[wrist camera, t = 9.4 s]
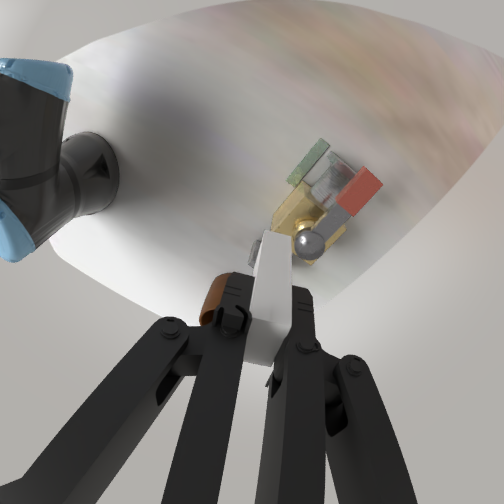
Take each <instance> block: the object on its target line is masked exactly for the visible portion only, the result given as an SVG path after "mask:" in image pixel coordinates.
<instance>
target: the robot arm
mask: <svg viewBox="0 0 504 504" xmlns="http://www.w3.org/2000/svg"><path fill="white" fill-rule="evenodd" d="M72 81H73V70H72V68H71V67H70V66H69V65H67V64H63V63H57V62H49V61H41V60H31V59H13V58H0V257H1V258H3V259H4V260H6V261H9V262H13V263H15V262H18V261H20V260H22V259H23V258H24V257H26V256H27V255H28V254H29V253H32V252H34V251H35V250H36V249H37V248H38V247H39V246H40V245H41V244H43V242H45V241H46V240H47V239H48V238H50V237H51V236H52V235H53V234H54V233H56V232H57V231H58V230H59V229H60V228H62V227H63V226H64V225H65V224H67V223H68V222H69V221H71V220H72V219H73V218H77V217H80V216H84V215H92V214H95V213H98V212H99V211H101V210H102V209H104V208H105V207H106V206H108V205H109V204H110V203H111V202H112V200H113V199H114V197H115V195H116V192H117V189H118V184H119V169H118V164H117V160H116V157H115V155H114V153H113V151H112V149H111V147H110V146H109V145H108V143H107V142H106V141H105V140H104V139H103V138H101V137H100V136H98V135H97V134H94V133H91V132H82V133H78V134H75V135H72V136H70V137H68V138H67V139H65V140H64V141H63V142H62V137H63V130H64V124H65V119H66V113H67V108H68V104H69V102H70V91H71V86H72ZM313 312H314V309H313V297H312V295H311V294H310V292H309V290H308V289H306V288H302V287H298V286H293V285H292V248H291V236H288V235H284V234H280V233H276V232H272V231H268V230H264V234H263V237H262V241H261V245H260V248H259V252H258V256H257V259H256V263H255V266H254V270H253V276H249V275H245V274H241V273H237V272H233V273H232V274H231V275H230V276H229V277H228V278H227V281H226V285H225V288H224V291H223V294H222V297H221V301H220V304H219V305H217V307H216V308H215V310H214V314H213V320H212V322H210V323H209V324H207V325H204V326H187V325H186V323H185V322H184V321H182V320H181V319H179V318H176V317H164V318H161V319H159V320H157V321H156V322H155V323H154V324H153V325H152V326H151V327H150V328H149V329H148V330H147V332H146V333H145V334H144V335H143V336H142V337H141V338H140V339H139V340H138V342H137V343H136V344H135V345H134V346H133V347H132V348H131V349H130V350H129V352H128V353H127V354H126V355H125V356H124V357H123V358H122V360H120V362H119V363H118V364H117V365H116V366H115V367H114V368H113V370H112V371H111V372H110V373H109V374H108V375H107V376H106V378H105V379H104V380H103V381H102V382H101V383H100V384H99V385H98V387H97V388H96V389H95V390H94V391H93V392H92V394H91V395H90V396H89V397H88V398H87V399H86V400H85V402H84V403H83V404H82V405H81V406H80V408H79V409H78V410H77V411H76V412H75V413H74V415H73V416H72V417H71V418H70V419H69V421H68V422H67V423H66V424H65V425H64V427H63V428H62V429H61V430H60V431H59V432H58V434H57V435H56V436H55V437H54V439H53V440H52V441H51V442H50V443H49V445H48V446H47V447H46V448H45V449H44V451H43V452H42V453H41V454H40V456H39V457H38V458H37V459H36V461H35V462H34V463H33V464H32V466H31V467H30V468H29V470H28V471H27V472H26V473H25V474H24V476H23V477H22V478H20V479H18V480H15V481H13V482H10V483H8V484H5V485H3V486H0V504H95V503H96V502H97V500H98V499H99V498H100V497H101V495H102V494H103V492H104V491H105V489H106V488H107V487H108V486H109V484H110V483H111V481H112V480H113V479H114V477H115V476H116V474H117V473H118V472H119V470H120V469H121V467H122V466H123V465H124V463H125V462H126V460H127V459H128V457H129V456H130V455H131V453H132V452H133V450H134V449H135V448H136V446H137V445H138V443H139V442H140V440H141V439H142V438H143V436H144V434H145V433H146V432H147V430H148V429H149V428H150V426H151V425H152V423H153V422H154V420H155V419H156V417H157V416H158V414H159V413H160V412H161V410H162V409H163V407H164V406H165V404H166V403H167V402H168V400H169V399H170V397H171V396H172V394H173V393H174V391H175V390H176V388H177V387H178V385H179V384H180V383H181V381H182V380H183V378H184V377H185V376H196V379H195V383H194V387H193V390H192V393H191V397H190V400H189V403H188V407H187V411H186V414H185V417H184V421H183V425H182V429H181V432H180V435H179V439H178V442H177V446H176V450H175V453H174V457H173V461H172V464H171V468H170V472H169V475H168V479H167V483H166V487H165V490H164V494H163V499H162V502H161V504H217V502H218V496H219V491H220V486H221V481H222V475H223V470H224V465H225V459H226V453H227V448H228V443H229V437H230V431H231V426H232V420H233V414H234V409H235V404H236V398H237V392H238V386H239V380H240V375H241V370H242V364H243V361H244V362H249V363H253V364H258V365H263V366H268V367H271V366H272V364H273V362H274V370H273V372H272V374H271V375H270V377H269V379H268V381H267V383H266V386H265V387H268V386H269V391H268V401H267V410H266V420H265V429H264V437H263V445H262V453H261V461H260V469H259V477H258V484H257V491H256V498H255V504H324V495H325V460H326V459H325V458H326V455H325V454H327V457H328V462H329V465H330V469H331V473H332V477H333V482H334V486H335V490H336V494H337V498H338V502H339V504H418V503H417V500H416V496H415V493H414V490H413V486H412V483H411V480H410V476H409V473H408V470H407V467H406V464H405V461H404V458H403V455H402V452H401V449H400V447H399V444H398V441H397V438H396V436H395V433H394V430H393V428H392V425H391V422H390V419H389V417H388V414H387V411H386V409H385V406H384V404H383V401H382V399H381V396H380V394H379V391H378V389H377V386H376V384H375V381H374V379H373V377H372V374H371V372H370V370H369V367H368V365H367V364H366V362H365V361H364V360H363V359H362V358H360V357H358V356H356V355H346V356H344V357H343V358H342V359H339V358H337V357H335V356H332V355H330V354H328V353H326V352H325V351H324V350H323V349H322V348H321V344H320V343H319V342H318V340H317V339H316V337H315V323H314V313H313Z"/></svg>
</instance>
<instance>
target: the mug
mask: <svg viewBox="0 0 504 504" xmlns="http://www.w3.org/2000/svg"><path fill="white" fill-rule="evenodd" d="M231 274H232V273H226V274H222V275H220V276H218V277H217V278H215V280H214V281H213V283H212V285H211V287H210V289H209V292H208V294H207V297H206V299H205V302H204V304H203V307H202V310H201V314H200V317H199V322H200V325H201V326H204V325H207V324H209V323H210V322H212V320H213V314H214V310H215V308H216V307H217V305H219V304H220V301H221V297H222V294H223V291H224V288H225V285H226V281H227V278H228V277H229V276H230V275H231Z"/></svg>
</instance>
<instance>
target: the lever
mask: <svg viewBox="0 0 504 504" xmlns="http://www.w3.org/2000/svg"><path fill="white" fill-rule="evenodd" d="M382 186H383V184H382V183H381V182H380V181H379V180H378V179H377V178H376V177H375V176H374V175H373V174H372V173H371V172H370V171H369V170H368V169H367V168H366V167H364V166H363V167H362V168H361V169H360V170H359V171H358V173H357V174H356V175H355V176H354V177H353V178H352V179H351V180H350V182H349V183H348V184H347V185H346V186H345V187H344V188H343V189H342V191H341V192H340V193H339V194H338V195H337V196H336V197H335V200H336V201H335V202H334V203H333V204H332V205H331V206H330V207H329V208H328V209H327V210H326V212H325V213H324V214H323V215H322V216H321V217H320V218H319V219H318V220H317V221H316V222H315V224H314V225H313V226H312V227H306V228H303V229H301V230H300V231H298V232H297V234H296V235H295V238H294V249H295V252H296V254H297V255H298V257H300V258H301V259H303V260H308V261H311V260H315V259H318V258H319V257H321V256H322V254H323V253H324V251H325V242H326V241H327V240H328V239H329V238H330V237H331V236H332V235H333V234H334V233H335V232H336V231H337V230H338V229H339V228H340V227H341V226H342V225H343V224H344V223H345V222H346V221H347V220H348V219H349V217H350V216H351V215H352V216H353V217H354V216H355V215H356V214H357V213H358V211H359V210H360V209H361V208H362V207H363V206H364V205H365V204H366V203H367V202H368V201H369V200H370V199H371V198H372V196H373V195H374V194H375V193H376V192H377V191H378V190H379V189H380V188H381V187H382Z"/></svg>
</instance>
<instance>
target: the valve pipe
mask: <svg viewBox="0 0 504 504" xmlns="http://www.w3.org/2000/svg"><path fill="white" fill-rule="evenodd" d="M329 146H330V145H329V144H327V143H326V142H325V141H324V140H323V139H321V138H320V139H319V141H318V142H317V143H316V144H315V145H314V147H313V148H312V149H311V150H310V151H309V153H308V154H307V155H306V156H305V157H304V159H303V160H302V161H301V162H300V164H299V165H298V166H297V167H296V168H295V170H294V171H293V172H292V173H291V175H290V176H289V177H288V178H287V180H286V181H287V182H288V183H289V184H291V185H292V186H293V187H295V186H296V185H297V184H298V183H299V182H300V180H301V179H302V178H303V177H304V176H305V174H306V173H307V172H308V171H309V170H310V168H311V167H312V166H313V165H314V164H315V162H316V161H317V160H318V159H319V158H320V156H321V155H322V154H323V153H324V152H325V151H326V149H327V148H328V147H329ZM327 157H328V159H329V160H330V162H331V163H332V165H331V166H330V167H329V168H328V169H327V170H326V172H325V173H324V174H323V175H322V176H321V177H320V179H319V180H318V181H317V182H316V183H315V184H314V186H313V187H310V186H309V185H308V184H307V183H305V182H304V181H303V180H302V181H301V182H300V183H299V184H298V186H297V187H296V188H295V189H294V190H293V192H292V193H291V194H290V195H289V196H288V198H287V199H286V200H285V201H284V202H283V204H282V205H281V206H280V207H279V208H278V210H277V211H276V212H275V213H274V214H273V219H272V225H271V231H272V232H276V233H280V234H284V235H288V236H291V248H292V255H293V254H295V255H297V254H296V252H295V249H294V238H295V235H296V234H297V232H298V231H300V230H301V229H303V228H306V227H312V226H313V225H314V224H315V222H316V221H317V220H318V219H319V218H320V217H321V216H322V215H323V214H324V213H325V212H326V210H327V209H328V208H329V207H330V206H331V205H332V204H333V203H334V202H335V201H336V200H335V197H336V196H337V195H338V194H339V193H340V192H341V191H342V189H343V188H344V187H345V186H346V185H347V184H348V183H349V182H350V180H351V179H352V178H353V177H354V176H355V175H356V174H357V173H356V172H355V171H354V170H353V169H352V168H351V167H349V166H348V165H347V164H346V163H345V162H344V161H342V160H341V159H340V158H339V157H338V156H337V155H335V154H334V153H333V152H332V151H331V152H330V153H329V154H328V155H327ZM345 231H346V227H345V225H344V224H343V225H342V226H341V227H340V228H339V229H338V230H337V231H336V232H335V233H334V234H333V235H332V236H331V237H330V238H329V239H328V240H327V241H326V242H325V251H326V250H327V249H328V248H329V247H330V246H331V245H332V244H333V243H334V242H335V241H336V240H337V239H338V238H339V237H340V236H341V235H342V234H343V233H344V232H345ZM260 245H261V242H260V241H258V240H256V241H255V242H254V243H253V246H252V250H251V254H250V258H249V262H248V265H249V266H251V267H252V268H254V266H255V263H256V259H257V256H258V252H259V248H260ZM325 251H324V252H325ZM297 256H298V255H297ZM302 260H303V259H302ZM316 260H317V259H315V260H311V261H308V260H304V261H305V262H307V263H308V264H310V265H312V264H313V263H314V262H315V261H316Z"/></svg>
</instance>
